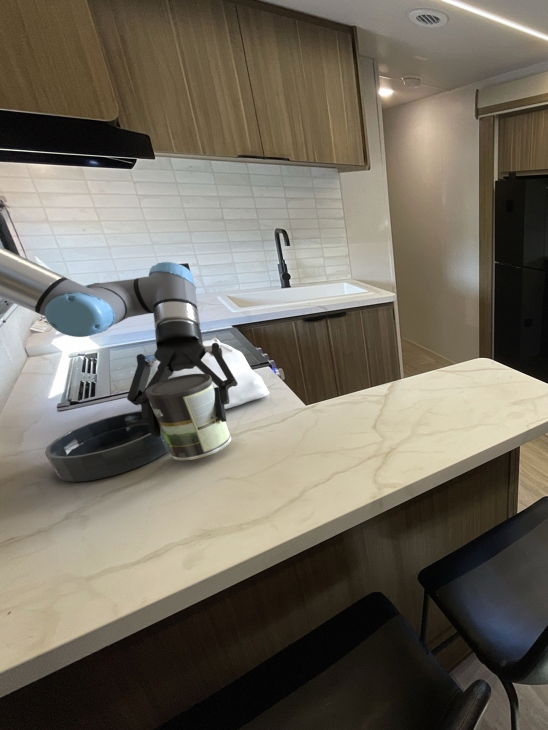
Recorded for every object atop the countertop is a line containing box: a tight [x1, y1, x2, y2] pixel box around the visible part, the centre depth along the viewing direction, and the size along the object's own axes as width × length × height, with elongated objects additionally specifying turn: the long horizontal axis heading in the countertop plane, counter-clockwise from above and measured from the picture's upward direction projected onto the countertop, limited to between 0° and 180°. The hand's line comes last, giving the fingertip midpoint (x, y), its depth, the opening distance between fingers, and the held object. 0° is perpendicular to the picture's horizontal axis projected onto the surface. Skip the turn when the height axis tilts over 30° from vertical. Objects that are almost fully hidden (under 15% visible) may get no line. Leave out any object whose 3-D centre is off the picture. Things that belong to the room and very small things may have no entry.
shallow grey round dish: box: [44, 410, 170, 483], centre depth 83 cm, size 19×19×6 cm
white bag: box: [154, 336, 270, 410], centre depth 107 cm, size 19×30×13 cm, turn 48°
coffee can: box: [145, 374, 232, 462], centre depth 79 cm, size 10×10×14 cm
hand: (189, 426), depth 77 cm, fingers closed on coffee can, 10 cm apart
